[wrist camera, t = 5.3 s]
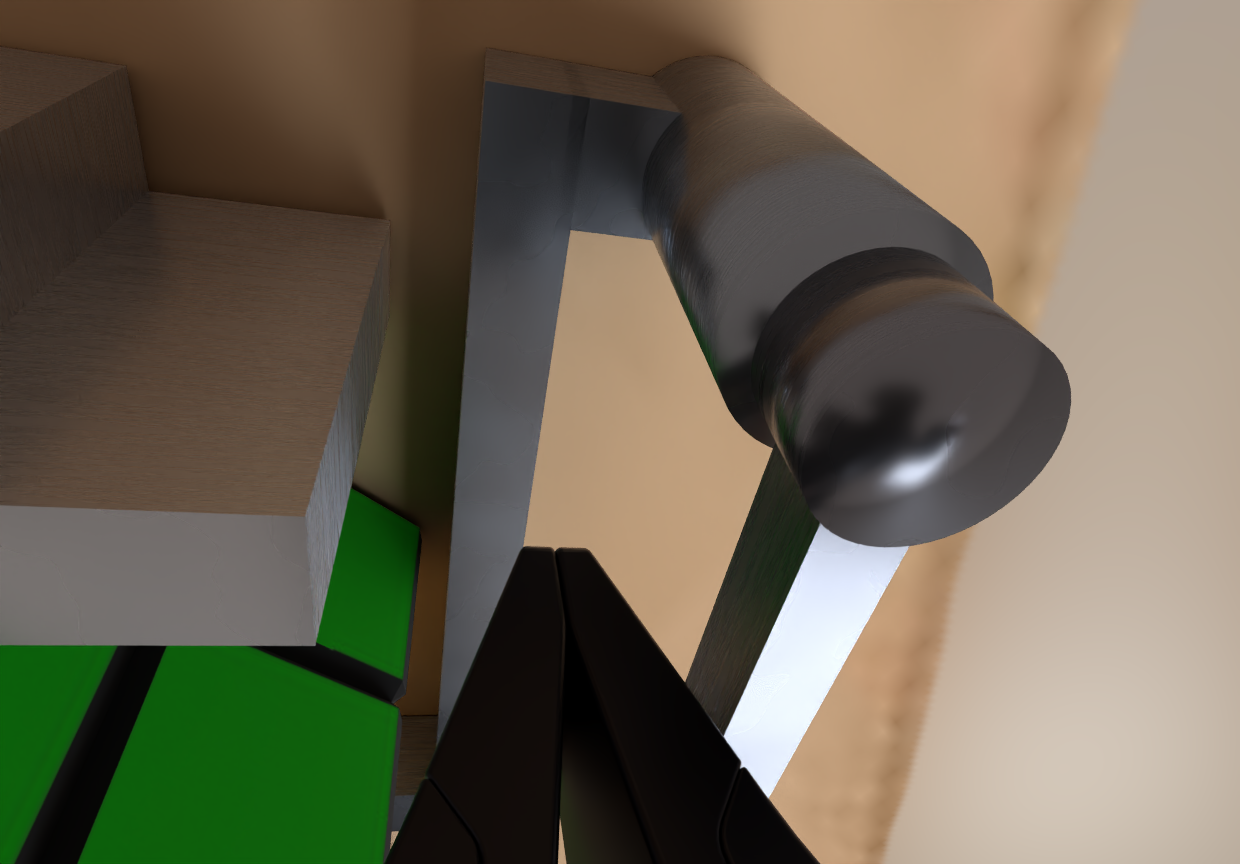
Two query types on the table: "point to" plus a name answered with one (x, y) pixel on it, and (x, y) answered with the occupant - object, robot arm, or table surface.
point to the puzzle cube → (220, 732)
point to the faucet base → (689, 248)
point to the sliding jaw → (167, 384)
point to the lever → (864, 474)
